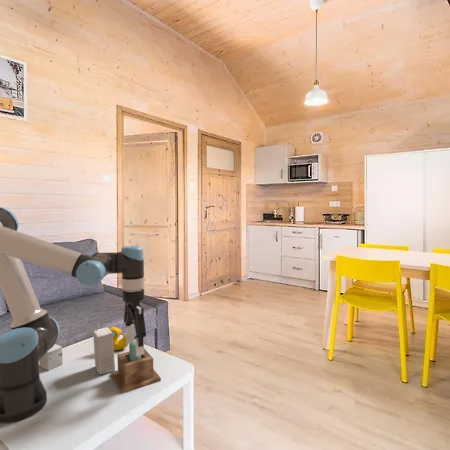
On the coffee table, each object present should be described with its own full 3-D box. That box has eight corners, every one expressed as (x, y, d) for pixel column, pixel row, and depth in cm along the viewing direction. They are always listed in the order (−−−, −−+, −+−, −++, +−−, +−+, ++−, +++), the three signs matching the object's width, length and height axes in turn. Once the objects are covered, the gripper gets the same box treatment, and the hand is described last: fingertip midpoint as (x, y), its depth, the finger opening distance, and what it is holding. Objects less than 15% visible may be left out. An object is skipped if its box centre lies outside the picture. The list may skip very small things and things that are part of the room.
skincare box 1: (48, 371, 124) (47, 352, 124) (39, 367, 127) (38, 348, 127) (63, 364, 130) (62, 346, 129) (53, 360, 133) (53, 343, 132)
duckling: (101, 354, 138) (100, 331, 137) (102, 348, 143) (102, 326, 143) (129, 350, 141) (128, 328, 140) (129, 345, 146) (129, 323, 146)
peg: (131, 379, 117) (131, 347, 115) (128, 374, 120) (127, 342, 119) (142, 376, 119) (142, 344, 117) (139, 370, 122) (138, 340, 121)
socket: (121, 393, 110) (121, 370, 109) (111, 374, 122) (110, 353, 121) (160, 380, 118) (160, 359, 117) (147, 364, 129) (146, 344, 129)
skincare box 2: (115, 371, 124) (114, 333, 123) (98, 375, 121) (97, 336, 120) (109, 362, 131) (108, 326, 130) (93, 366, 128) (92, 329, 127)
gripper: (155, 295, 110) (156, 358, 111) (133, 281, 129) (134, 335, 131) (133, 298, 105) (134, 364, 107) (114, 283, 125) (115, 339, 127)
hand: (134, 348), depth 119 cm, fingers open, 11 cm apart
